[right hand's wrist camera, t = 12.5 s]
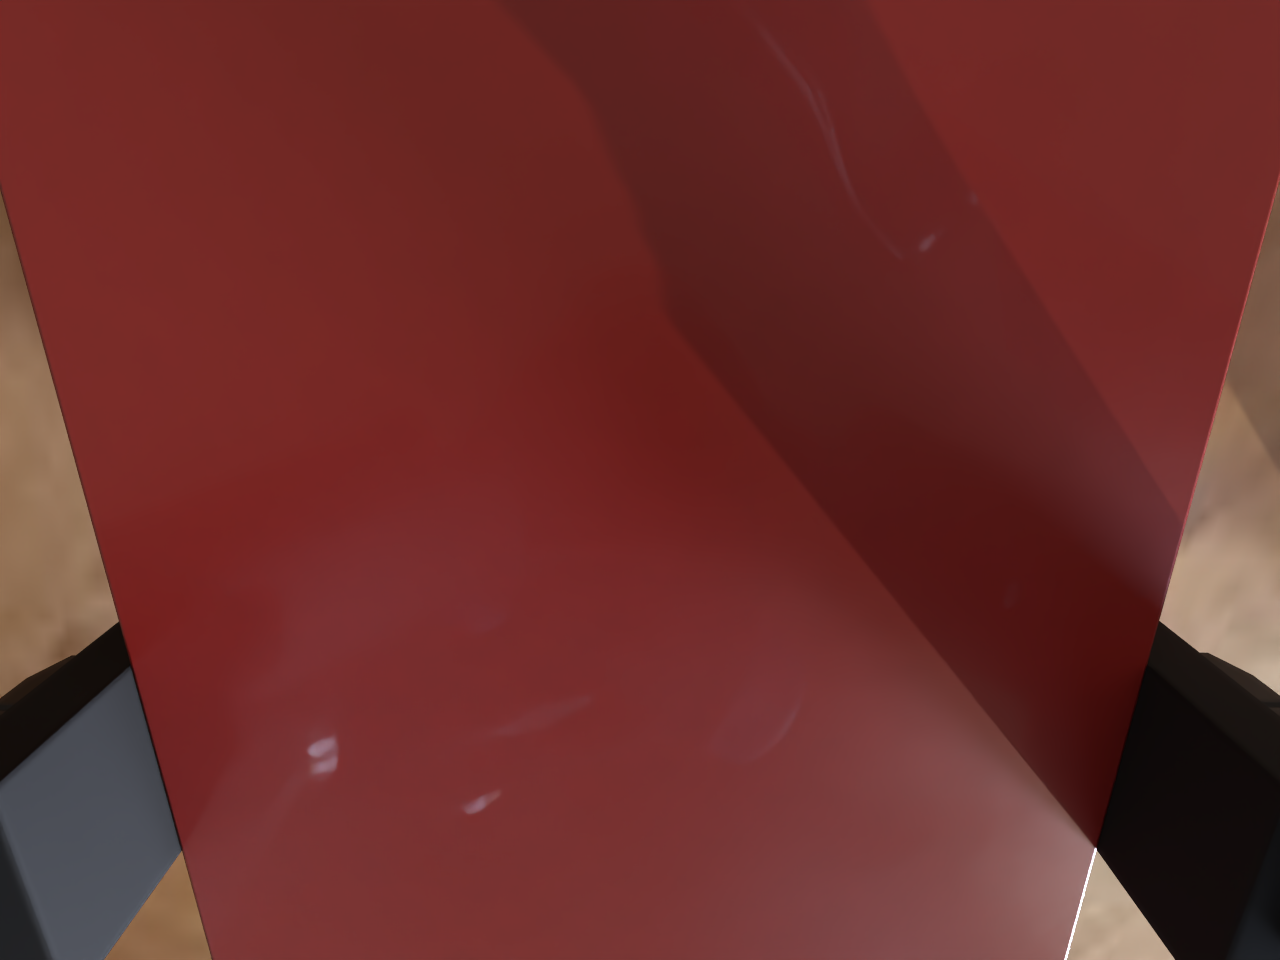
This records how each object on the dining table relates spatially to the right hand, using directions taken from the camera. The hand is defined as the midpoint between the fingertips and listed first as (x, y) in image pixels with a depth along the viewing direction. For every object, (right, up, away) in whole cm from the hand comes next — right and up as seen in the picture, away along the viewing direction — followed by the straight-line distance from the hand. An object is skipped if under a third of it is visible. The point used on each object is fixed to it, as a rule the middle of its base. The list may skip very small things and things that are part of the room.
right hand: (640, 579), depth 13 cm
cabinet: (0, +7, +5) cm, 9 cm away
